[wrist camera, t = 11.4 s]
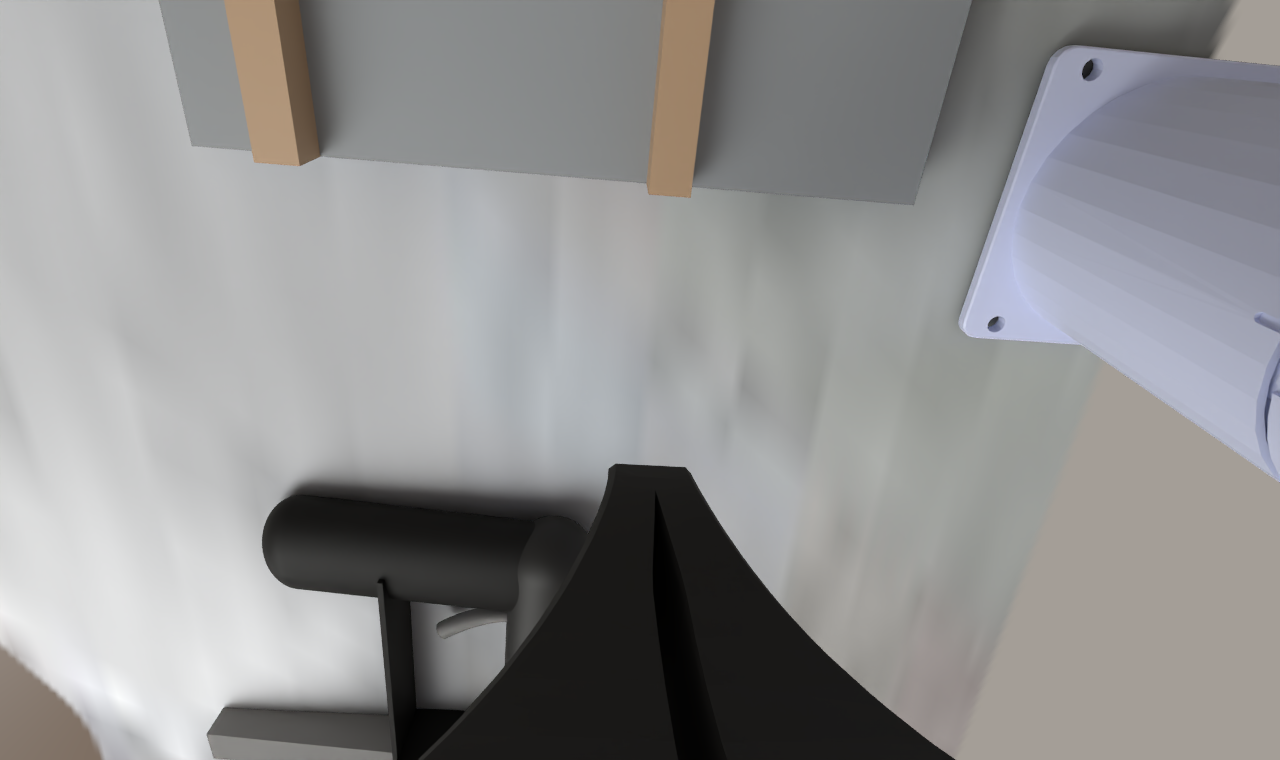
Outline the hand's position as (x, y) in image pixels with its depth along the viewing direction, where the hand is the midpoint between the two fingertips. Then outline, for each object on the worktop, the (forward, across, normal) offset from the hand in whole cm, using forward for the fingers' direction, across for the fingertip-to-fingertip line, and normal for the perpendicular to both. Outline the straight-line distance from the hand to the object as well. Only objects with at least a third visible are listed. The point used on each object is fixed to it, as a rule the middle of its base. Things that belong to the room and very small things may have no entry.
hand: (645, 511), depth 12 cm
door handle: (+10, +8, +17) cm, 22 cm away
